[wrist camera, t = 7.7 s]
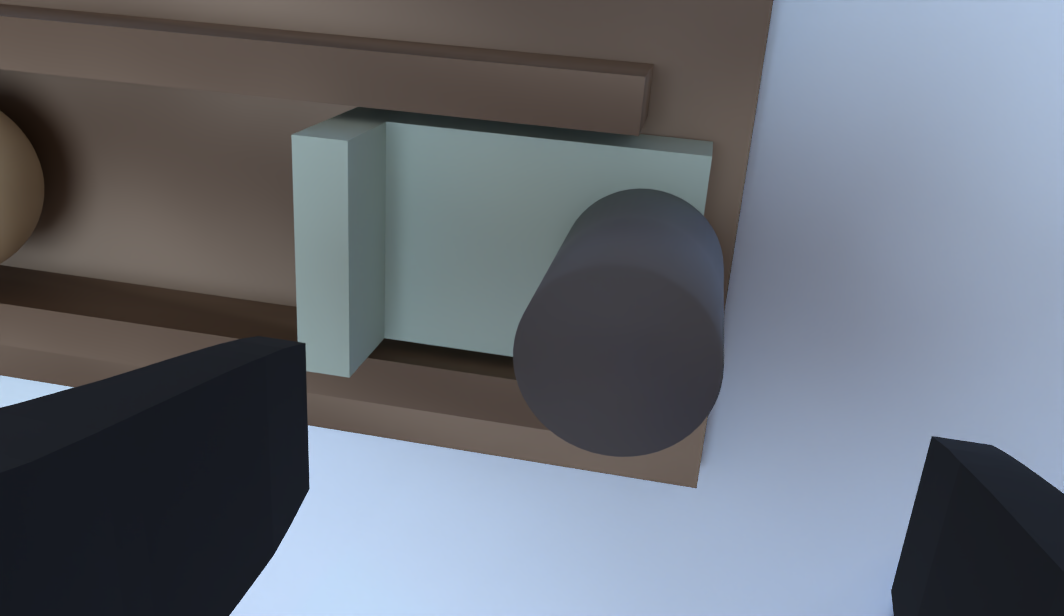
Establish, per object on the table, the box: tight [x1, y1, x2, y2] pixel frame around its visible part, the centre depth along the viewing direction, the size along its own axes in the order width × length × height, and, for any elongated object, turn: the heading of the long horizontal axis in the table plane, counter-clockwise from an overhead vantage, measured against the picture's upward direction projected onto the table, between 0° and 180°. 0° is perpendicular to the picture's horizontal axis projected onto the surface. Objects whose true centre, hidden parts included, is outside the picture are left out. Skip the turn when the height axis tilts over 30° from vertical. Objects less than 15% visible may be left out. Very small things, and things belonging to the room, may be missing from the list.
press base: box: [0, 0, 773, 488], centre depth 19 cm, size 11×22×3 cm, turn 86°
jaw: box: [291, 107, 724, 457], centre depth 16 cm, size 4×8×6 cm, turn 86°
